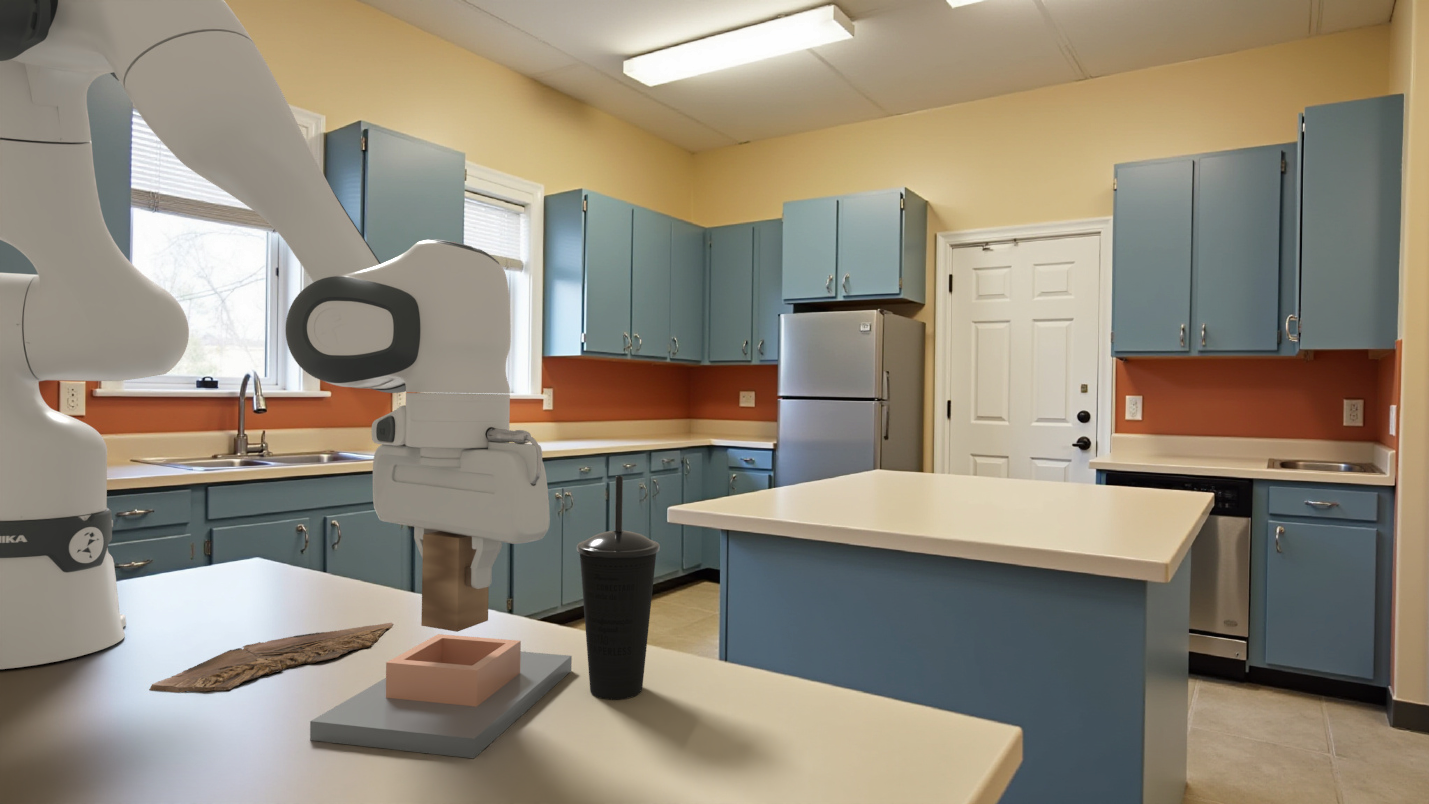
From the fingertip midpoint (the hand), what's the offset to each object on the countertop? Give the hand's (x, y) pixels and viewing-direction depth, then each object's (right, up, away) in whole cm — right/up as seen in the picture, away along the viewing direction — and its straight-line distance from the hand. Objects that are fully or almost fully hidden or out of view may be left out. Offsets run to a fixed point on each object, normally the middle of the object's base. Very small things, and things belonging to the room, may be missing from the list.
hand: (456, 581), depth 73 cm
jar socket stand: (0, -11, 0) cm, 11 cm away
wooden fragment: (-21, -11, +13) cm, 27 cm away
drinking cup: (+14, -11, +4) cm, 18 cm away
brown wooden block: (0, -4, 0) cm, 4 cm away
